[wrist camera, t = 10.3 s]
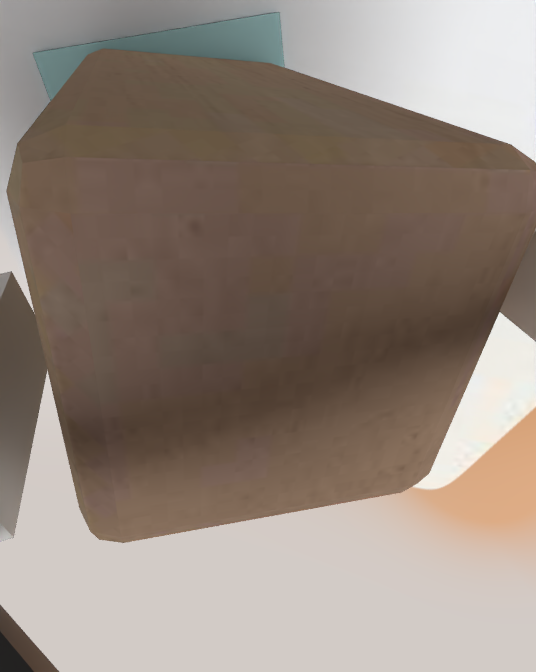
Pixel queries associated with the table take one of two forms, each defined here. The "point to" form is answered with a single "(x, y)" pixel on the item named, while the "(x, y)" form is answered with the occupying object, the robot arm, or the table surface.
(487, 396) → the table surface
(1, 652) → the robot arm
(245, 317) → the wooden block
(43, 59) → the board
